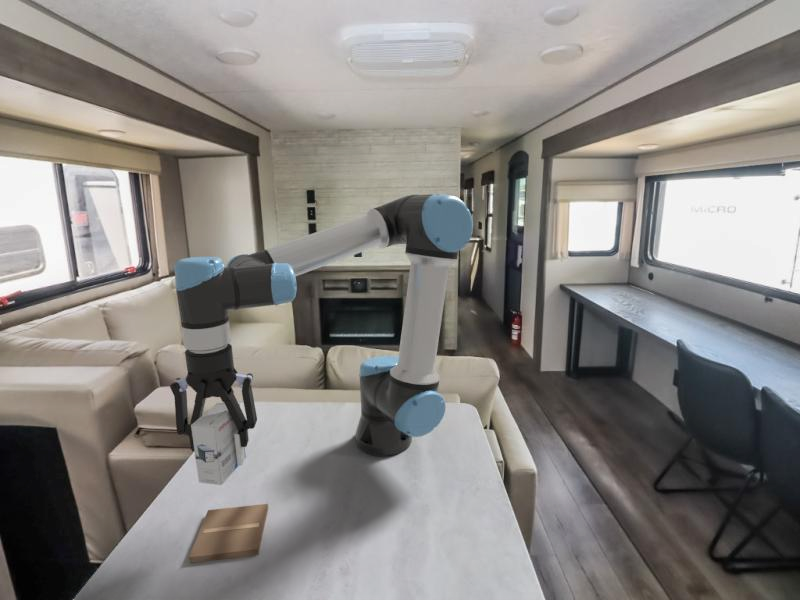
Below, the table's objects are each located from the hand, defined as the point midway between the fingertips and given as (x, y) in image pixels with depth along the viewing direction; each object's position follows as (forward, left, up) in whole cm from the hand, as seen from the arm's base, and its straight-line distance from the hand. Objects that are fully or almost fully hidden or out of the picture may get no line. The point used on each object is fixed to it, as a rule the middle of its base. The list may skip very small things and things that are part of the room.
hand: (222, 462), depth 80 cm
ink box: (0, 0, -2) cm, 2 cm away
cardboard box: (0, 0, -16) cm, 16 cm away
